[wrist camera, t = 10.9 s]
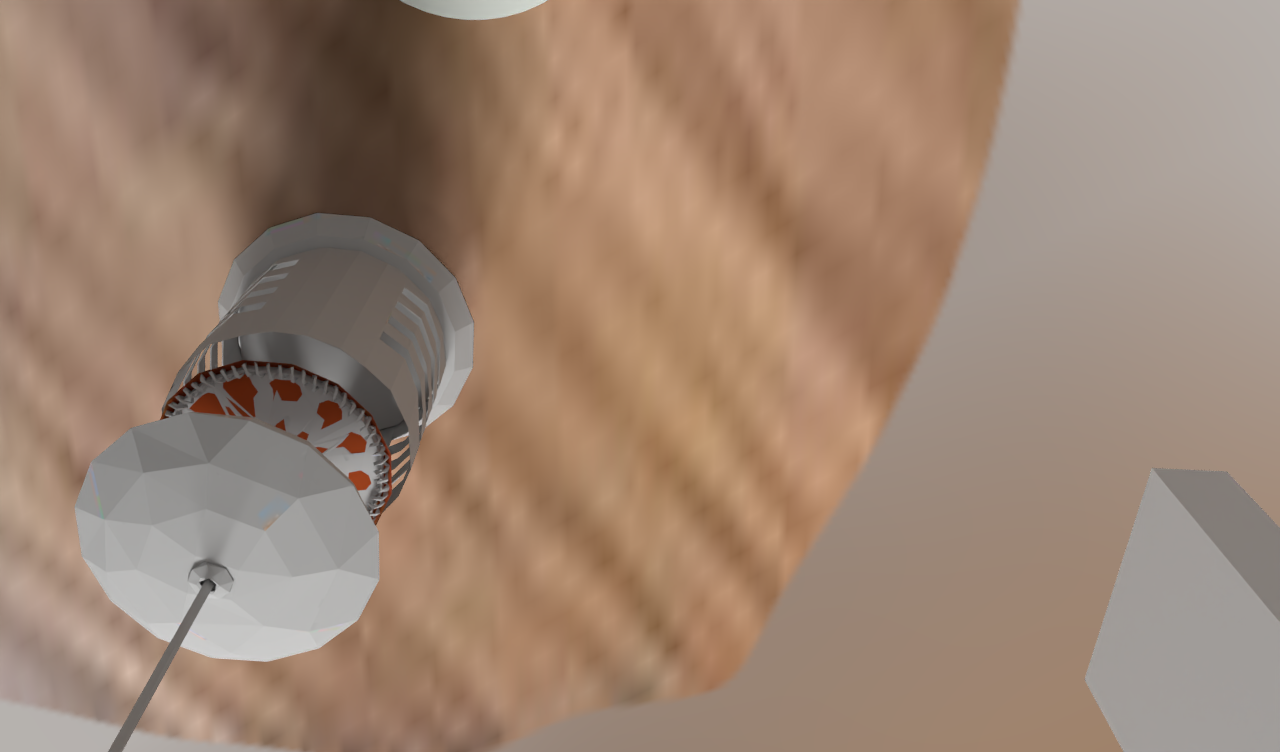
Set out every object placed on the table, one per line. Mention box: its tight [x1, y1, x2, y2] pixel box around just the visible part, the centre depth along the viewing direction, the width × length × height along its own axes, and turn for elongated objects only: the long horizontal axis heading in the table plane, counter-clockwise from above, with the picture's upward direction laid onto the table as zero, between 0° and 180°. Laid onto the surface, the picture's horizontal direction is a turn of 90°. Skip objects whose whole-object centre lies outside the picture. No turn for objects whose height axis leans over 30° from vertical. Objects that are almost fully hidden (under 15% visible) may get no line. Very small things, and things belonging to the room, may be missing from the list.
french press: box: [75, 213, 474, 752], centre depth 31 cm, size 10×12×25 cm
